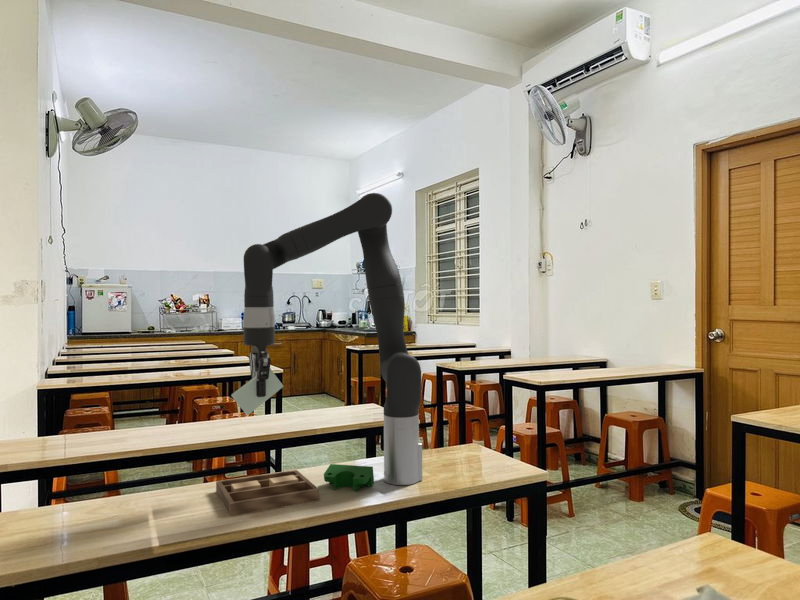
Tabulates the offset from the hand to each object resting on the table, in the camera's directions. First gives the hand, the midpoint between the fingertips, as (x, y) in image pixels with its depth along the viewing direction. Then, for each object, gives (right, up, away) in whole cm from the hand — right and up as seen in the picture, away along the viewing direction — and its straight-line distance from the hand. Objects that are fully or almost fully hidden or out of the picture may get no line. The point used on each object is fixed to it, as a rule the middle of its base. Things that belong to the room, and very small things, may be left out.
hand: (259, 395), depth 138 cm
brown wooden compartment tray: (+3, -24, -6) cm, 25 cm away
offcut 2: (+6, -23, -3) cm, 24 cm away
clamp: (+22, -24, 0) cm, 33 cm away
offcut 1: (-2, -23, -7) cm, 24 cm away
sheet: (-4, -2, -2) cm, 5 cm away
